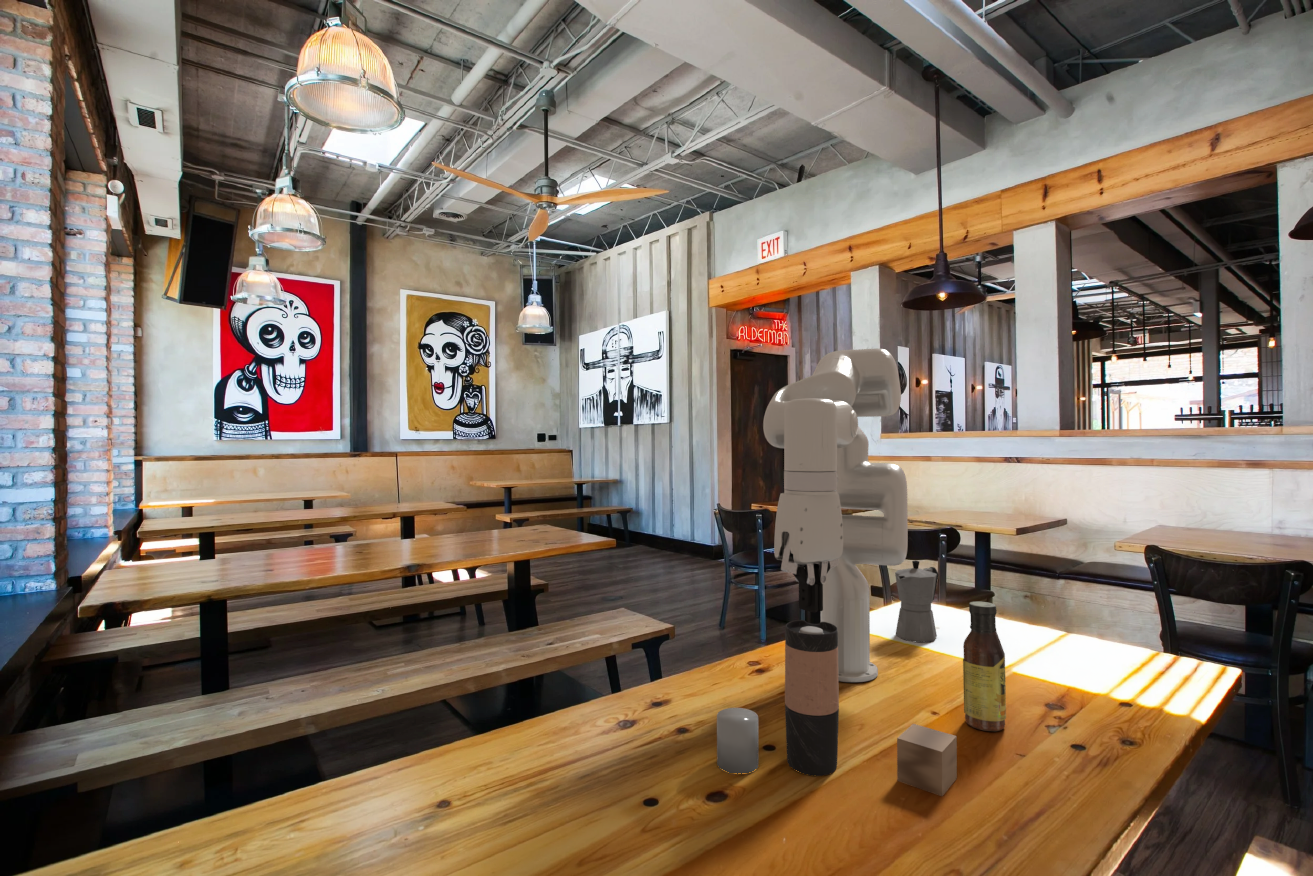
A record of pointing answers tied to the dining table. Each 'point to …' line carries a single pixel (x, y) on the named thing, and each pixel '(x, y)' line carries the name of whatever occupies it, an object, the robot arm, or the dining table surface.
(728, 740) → the grey rounded cylinder
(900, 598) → the coffeepot
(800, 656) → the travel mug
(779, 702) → the dining table surface
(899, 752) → the grey cube
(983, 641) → the sauce bottle
